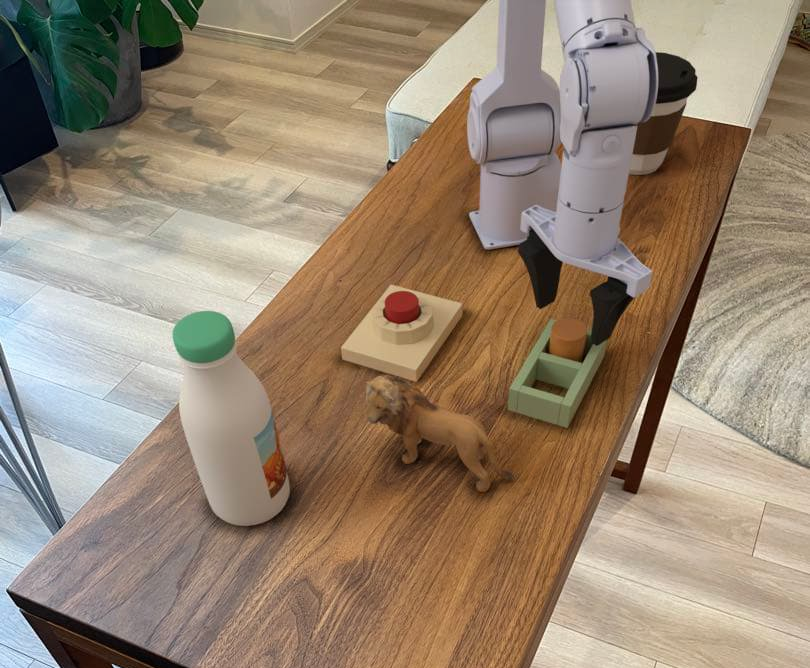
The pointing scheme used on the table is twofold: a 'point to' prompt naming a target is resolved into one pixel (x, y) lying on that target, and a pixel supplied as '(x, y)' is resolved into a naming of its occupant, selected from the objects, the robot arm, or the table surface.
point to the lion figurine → (429, 425)
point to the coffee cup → (663, 113)
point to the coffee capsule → (568, 339)
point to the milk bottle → (229, 423)
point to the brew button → (401, 307)
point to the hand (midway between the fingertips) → (572, 321)
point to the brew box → (402, 336)
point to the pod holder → (554, 381)
